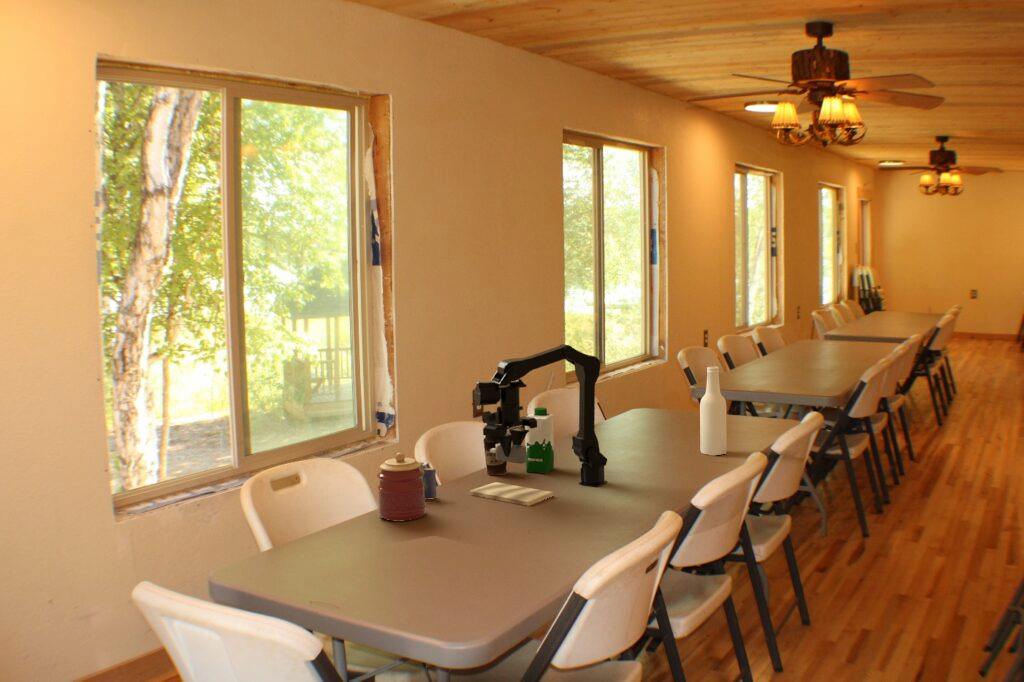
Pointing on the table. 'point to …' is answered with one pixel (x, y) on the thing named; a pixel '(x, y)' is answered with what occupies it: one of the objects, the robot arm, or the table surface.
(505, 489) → the birch board
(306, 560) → the table surface
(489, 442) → the coffee cup
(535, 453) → the milk carton
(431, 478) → the flask
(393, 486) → the canister
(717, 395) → the alcohol
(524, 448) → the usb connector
